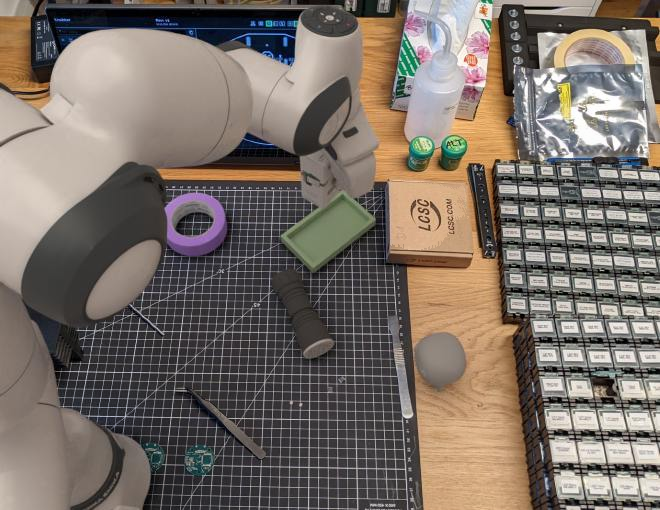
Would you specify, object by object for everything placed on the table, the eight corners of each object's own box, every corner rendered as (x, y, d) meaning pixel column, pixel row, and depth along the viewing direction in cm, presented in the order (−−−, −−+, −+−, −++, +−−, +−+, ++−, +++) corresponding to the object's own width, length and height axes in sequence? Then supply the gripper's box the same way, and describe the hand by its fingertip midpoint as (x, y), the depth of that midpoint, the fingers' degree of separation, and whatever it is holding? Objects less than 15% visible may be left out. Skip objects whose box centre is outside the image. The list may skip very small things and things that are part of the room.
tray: (313, 273, 112) (313, 268, 110) (280, 241, 115) (280, 235, 113) (375, 224, 117) (376, 219, 115) (342, 195, 120) (342, 189, 118)
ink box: (329, 162, 106) (330, 115, 96) (353, 176, 105) (357, 129, 94) (299, 196, 102) (297, 151, 92) (324, 211, 101) (325, 166, 91)
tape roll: (206, 193, 120) (203, 181, 117) (239, 234, 116) (237, 223, 112) (153, 224, 116) (148, 213, 113) (185, 268, 112) (181, 257, 109)
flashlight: (270, 287, 110) (267, 273, 106) (297, 276, 111) (296, 261, 107) (304, 362, 103) (303, 350, 99) (334, 349, 105) (334, 337, 100)
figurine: (403, 357, 104) (412, 330, 94) (447, 350, 105) (461, 322, 94) (414, 404, 100) (425, 381, 90) (459, 397, 101) (475, 373, 90)
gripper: (273, 72, 91) (278, 134, 103) (347, 168, 82) (343, 224, 94) (310, 56, 93) (311, 119, 105) (386, 149, 84) (378, 206, 96)
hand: (327, 170), depth 99 cm, fingers closed on ink box, 6 cm apart
